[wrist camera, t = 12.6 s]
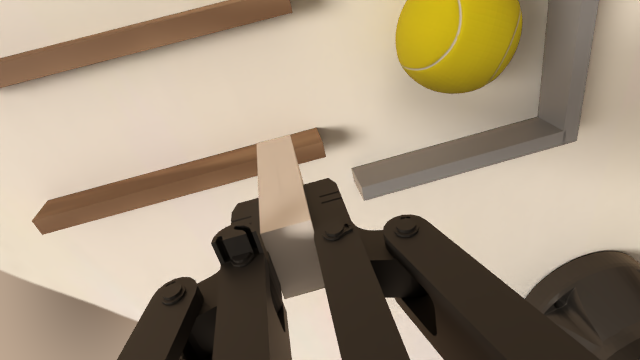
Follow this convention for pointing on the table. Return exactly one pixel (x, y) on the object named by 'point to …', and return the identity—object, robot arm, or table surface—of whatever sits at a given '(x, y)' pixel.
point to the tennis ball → (457, 41)
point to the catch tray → (515, 139)
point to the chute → (241, 8)
